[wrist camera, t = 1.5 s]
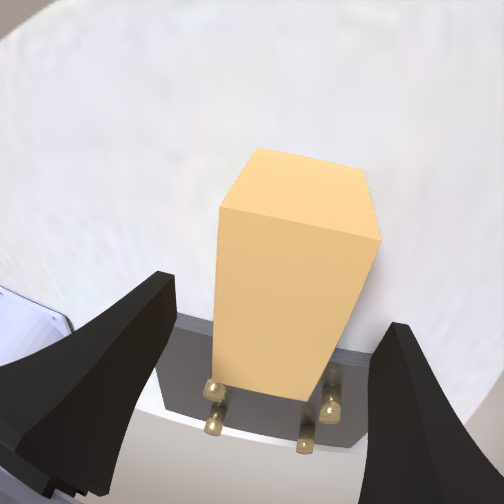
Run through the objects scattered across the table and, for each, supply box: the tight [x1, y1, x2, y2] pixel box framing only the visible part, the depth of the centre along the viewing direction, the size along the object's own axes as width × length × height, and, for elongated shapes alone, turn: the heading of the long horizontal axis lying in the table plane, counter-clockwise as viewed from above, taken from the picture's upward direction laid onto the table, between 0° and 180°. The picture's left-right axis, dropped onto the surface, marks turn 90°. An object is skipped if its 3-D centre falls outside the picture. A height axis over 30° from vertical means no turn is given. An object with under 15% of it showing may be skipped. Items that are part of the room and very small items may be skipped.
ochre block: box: [212, 148, 381, 402], centre depth 12 cm, size 4×8×5 cm, turn 173°
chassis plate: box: [155, 313, 373, 454], centre depth 20 cm, size 16×12×3 cm
